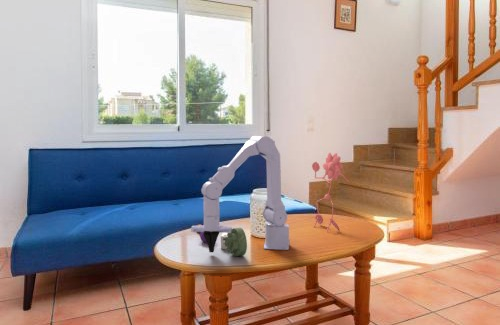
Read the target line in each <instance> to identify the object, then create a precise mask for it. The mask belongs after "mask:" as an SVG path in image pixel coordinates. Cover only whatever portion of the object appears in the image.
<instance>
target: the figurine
mask: <svg viewBox="0 0 500 325" xmlns="http://www.w3.org/2000/svg"><path fill="white" fill-rule="evenodd" d="M311 167H312V170H313V171H314V179H322V180H324V181H326V182H327V183H328V184H329V189H328V192H327V193H326V194H325V195H324V197H323V198H321V199H318V200H316V208H317V214H316V215H315V218H314V219H315V223H314V225H313V227H314V228H315V227H316V225H317V223H318V224H319V225H322V224H323V223H324V217H323V216H322V215H321V214H320V211H319V203H318V202H319V201H322V200H324V199H325V200H326V201H329V200H330V202H331V204H332V207H334V202H333V201H332V198H331V194H330V191H331V188H332V186H333V185H332V184H333V183H332V181H333V180H335V181H337V180H338V178H339V176H342V177H343V178H344V179H345V181H347V182H348V183H349V184H350V183H351V182H350V181H349V179H348V178H346V176H345V175H344V174H343V173H342V169H343V168H344V165H343V162H341V156H338V153H334V154H332V153H331V152H328V154H327V156H326V157H325V163H323V164H322V168H323V169H324V170H325V172H324V175H323V177H322V176H321V177H318V176H317V172H319V171H320V169H321V166H320V164H319V163H318V162H317V161H314V162H313V163H312V164H311ZM326 177H327V178H326ZM329 180H330V181H329ZM331 213H332V214H331V217H329V221H330V222H329V221H328V222H327V221H326V223H327V224H328V226H327V229H326V233H328V231H329V229H330V226H331V225H332V226H333V227H334V228H335V229H337V231H339V232H340V228H339V224H338V223H336V221H335V220H334V218H333V216H334V208H332V211H331ZM344 227H345V228H347V226H346V225H344ZM335 235H338V234H333V236H335Z"/></svg>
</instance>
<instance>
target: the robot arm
mask: <svg viewBox="0 0 500 325" xmlns="http://www.w3.org/2000/svg"><path fill="white" fill-rule="evenodd" d="M256 155H257V156H258V155H260V156H261V157H263V158H264V160H265V161H266V162H265V163H266V200H265V203H264V208H263V211H262V217H263V219H265V237H264V238H265V242H264V243H263V244H264V245H263V250H277V251H278V250H281V251H286V250H287V251H288V250H290V249H289V248H290V246H289V245H290V244H291V242H290V240H291V239H290V225H289V224H285V223H286V222H287V221H288V214H287V211H286V205H285V204H284V203H283V201H282V181H281V179H282V178H281V177H282V176H281V175H282V174H281V172H282V170H281V154H280V151H279V150H278V148H277V146H276V141H275V140H273V138H271V137H270V136H267V135H264V136H263V135H261V136H260V135H253V136H251V137H250V138H249V140H247V141H245V143H244V145H243V146H242V147H241V148H240V149H239V151H238V152H237V153H236V155H235V156H234V157H233V158H232V159H231V161H230V162H229V163H228V164H227V165H222V166H221V167H220V166H219V167H218V168H217V172H216V173H215V174H214V175H213V176H212V177H209V178H208V181H206V182H205V183H203V185H202V187H201V189H200V191H201V195H203V204H202V205H203V225H202V224H201V225H198V224H197V225H198V226H197V225H192V226H191V228H190V229H191V233H195V232H196V233H201V232H204V234H203V236H204V238H205V240H206V242H207V243H206V244H207V248H208V252H209V253H214V251H215V246H216V243H217V240H218V237H219V234H220V233H231V232H232V229H233V227H232V226H228V225H220V197H221V196H222V194H223V189H224V188H225V187H226V186H228V184H229V183H230V182H231V181H232V180H233V179H234V177H235V174H236V173H235V172H236V171H237V169H238V168H239V167H240V166H241V165H242V164H243V163H245V162H246V161H247V160H248V159H249V157H252V156H256Z"/></svg>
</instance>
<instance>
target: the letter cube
mask: <svg viewBox="0 0 500 325" xmlns="http://www.w3.org/2000/svg"><path fill="white" fill-rule="evenodd" d="M221 233H222V234H221V236H220V249H221V250H228V249H227V246H225V244H223V243H225V240H226V237H228V236H227V233H224V232H221Z"/></svg>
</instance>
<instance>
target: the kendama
mask: <svg viewBox="0 0 500 325" xmlns="http://www.w3.org/2000/svg"><path fill="white" fill-rule="evenodd" d="M198 225H202V224H200V223H199V224H197V225H196V226H198ZM203 234H204V232H200V234H199V237H200V240H201V241H202V242H203V243H204V244H207V242H206V240H205V238H204V236H203Z"/></svg>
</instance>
